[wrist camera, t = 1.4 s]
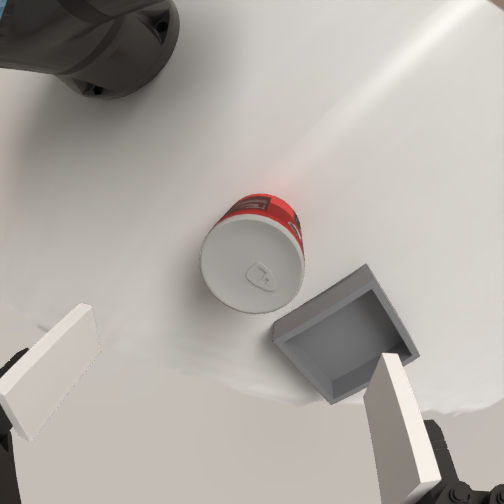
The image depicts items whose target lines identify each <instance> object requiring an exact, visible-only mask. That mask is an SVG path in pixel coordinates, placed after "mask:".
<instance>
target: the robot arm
mask: <svg viewBox="0 0 504 504" xmlns="http://www.w3.org/2000/svg"><path fill="white" fill-rule="evenodd" d="M178 34H179V15H178V11H177V8H176V6H175V4H174V3H173V1H172V0H0V68H6V69H15V70H24V71H32V72H39V73H46V74H53V75H56V76H57V77H58V78H59V79H61V80H62V81H63V82H64V83H65V84H67V85H68V86H69V87H70V88H71V89H73V90H74V91H75V92H77V93H79V94H81V95H84V96H87V97H91V98H98V99H115V98H120V97H123V96H126V95H129V94H131V93H133V92H135V91H137V90H138V89H140V88H141V87H143V86H144V85H146V84H147V83H148V82H149V81H151V80H152V79H153V78H154V77H155V76H156V75H157V74H158V73H159V72H160V70H161V69H162V68H163V67H164V65H165V64H166V62H167V61H168V59H169V58H170V56H171V54H172V52H173V50H174V47H175V45H176V42H177V38H178ZM100 353H101V349H100V344H99V339H98V334H97V328H96V322H95V316H94V310H93V306H90V305H86V304H83V303H80V304H79V305H77V306H76V307H75V308H74V309H73V310H72V311H71V312H70V313H68V314H67V315H66V316H65V317H64V318H63V319H62V320H61V321H60V322H58V323H57V324H56V325H55V326H54V327H53V328H52V329H51V330H50V331H49V332H48V333H47V334H45V335H44V336H43V338H41V339H40V340H39V341H38V342H37V343H36V344H35V345H34V346H33V347H32V348H31V349H28V348H25V349H24V350H21V351H20V352H18V353H16V354H15V355H14V356H13V357H12V358H11V359H10V361H8V362H7V363H6V364H5V366H4V367H2V368H1V369H0V504H21V499H20V494H19V489H18V483H17V477H16V470H15V462H14V455H13V445H12V436H11V432H10V429H11V428H12V427H14V429H15V430H16V432H17V434H18V435H19V436H21V437H22V438H24V439H25V440H27V441H29V442H31V443H32V441H33V440H34V439H35V437H36V436H37V435H38V433H39V432H40V430H41V429H42V428H43V426H44V425H45V424H46V422H47V421H48V420H49V418H50V417H51V416H52V414H53V413H54V412H55V410H56V409H57V408H58V406H59V405H60V404H61V402H62V401H63V400H64V398H65V397H66V396H67V395H68V393H69V392H70V391H71V389H72V388H73V387H74V386H75V384H76V383H77V382H78V380H79V379H80V378H81V377H82V375H83V374H84V372H86V370H87V369H88V368H89V366H90V365H91V364H92V363H93V361H94V360H95V359H96V358H97V356H98V355H99V354H100ZM363 398H364V403H365V408H366V413H367V418H368V423H369V428H370V433H371V439H372V444H373V449H374V455H375V461H376V468H377V474H378V481H379V488H380V494H381V502H382V504H504V484H500V485H498V486H495V487H494V488H493V489H492V490H491V491H490V492H487V491H473V490H472V489H471V488H470V486H469V485H467V484H466V483H465V482H462V481H459V479H458V477H457V474H456V471H455V468H454V464H453V461H452V459H451V456H450V453H449V450H448V449H447V444H446V441H444V436H443V433H442V431H441V428H440V427H439V426H438V425H437V424H436V422H435V421H434V420H423V419H422V417H421V413H420V411H419V408H418V405H417V402H416V400H415V397H414V394H413V392H412V389H411V386H410V384H409V381H408V379H407V376H406V374H405V371H404V368H403V366H402V364H401V361H400V359H399V356H398V354H393V353H382V354H381V357H380V359H379V362H378V364H377V367H376V369H375V371H374V374H373V376H372V378H371V381H370V383H369V385H368V388H367V390H366V392H365V394H364V396H363Z"/></svg>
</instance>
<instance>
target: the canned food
mask: <svg viewBox="0 0 504 504" xmlns="http://www.w3.org/2000/svg"><path fill="white" fill-rule="evenodd" d="M199 260H200V270H201V274H202V278H203V280H204V282H205V284H206V286H207V287H208V289H209V290H210V291H211V293H212V294H213V295H214V296H215V297H216V298H217V299H218V300H219V301H221V302H222V303H223V304H225V305H226V306H228V307H230V308H232V309H234V310H237V311H240V312H244V313H249V314H265V313H269V312H273V311H276V310H278V309H280V308H282V307H284V306H285V305H287V304H288V303H289V302H290V301H291V300H292V299H293V298H294V297H295V296H296V295H297V293H298V291H299V289H300V287H301V285H302V281H303V278H304V270H305V259H304V251H303V242H302V234H301V227H300V222H299V220H298V217H297V215H296V214H295V212H294V210H293V209H292V208H291V207H290V206H289V205H288V204H287V203H286V202H284V201H283V200H281V199H279V198H277V197H275V196H272V195H268V194H252V195H249V196H246V197H244V198H242V199H241V200H239V201H238V202H237V203H236V204H235V205H233V206H232V208H231V209H230V210H229V211H228V212H227V213H226V214H225V215H224V216H223V217H222V218H221V219H220V220H219V221H218V222H217V223H216V225H215V226H214V227H213V228H212V229H211V231H210V232H209V233H208V235H207V236H206V238H205V240H204V243H203V245H202V248H201V252H200V258H199Z"/></svg>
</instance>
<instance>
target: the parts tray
mask: <svg viewBox="0 0 504 504" xmlns="http://www.w3.org/2000/svg"><path fill="white" fill-rule="evenodd" d="M272 341H273V343H274V344H275V345H276V346H277V347H278V348H279V349H280V350H281V351H282V353H283V354H284V355H285V356H286V357H287V358H288V359H289V360H290V361H291V362H292V364H293V365H294V366H295V367H296V368H297V369H298V370H299V371H300V372H301V373H302V374H303V376H304V377H305V378H306V379H307V380H308V381H309V382H310V383H311V384H312V385H313V386H314V387H315V388H316V390H317V391H318V392H319V393H320V394H321V395H322V396H323V397H324V398H325V399H326V400H327V401H328V402H329V403H330V404H331V405H332V404H334V403H337V402H339V401H341V400H343V399H345V398H347V397H349V396H351V395H353V394H355V393H357V392H359V391H361V390H362V389H364V388H366V387H368V385H369V383H370V381H371V378H372V376H373V374H374V371H375V369H376V367H377V364H378V362H379V359H380V357H381V354H382V353H393V354H398V356H399V359H400V361H401V364H402V366H403V367H404V366H405V365H407V364H409V363H410V362H412V361H413V360H415V359H417V358H418V357H420V354H419V352H418V351H417V349H416V347H415V345H414V343H413V341H412V339H411V337H410V335H409V333H408V332H407V330H406V328H405V326H404V325H403V323H402V321H401V319H400V318H399V316H398V314H397V313H396V311H395V309H394V308H393V306H392V304H391V302H390V301H389V299H388V298H387V296H386V294H385V293H384V291H383V289H382V288H381V286H380V284H379V283H378V281H377V280H376V278H375V276H374V275H373V273H372V272H371V270H370V269H369V267H368V265H367V264H365V265H363V266H362V267H360V268H359V269H357V270H356V271H354V272H353V273H351V274H350V275H348V276H347V277H345V278H344V279H342V280H341V281H339V282H338V283H336V284H335V285H333V286H332V287H330V288H328V289H327V290H325V291H324V292H322V293H321V294H319V295H317V296H316V297H314V298H313V299H311V300H310V301H308V302H306V303H305V304H303V305H301V306H300V307H298V308H297V309H295V310H293V311H292V312H290V313H288V314H287V315H285V316H283V317H282V318H280V319H278V320H277V321H275V322H274V331H273V340H272Z"/></svg>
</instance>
